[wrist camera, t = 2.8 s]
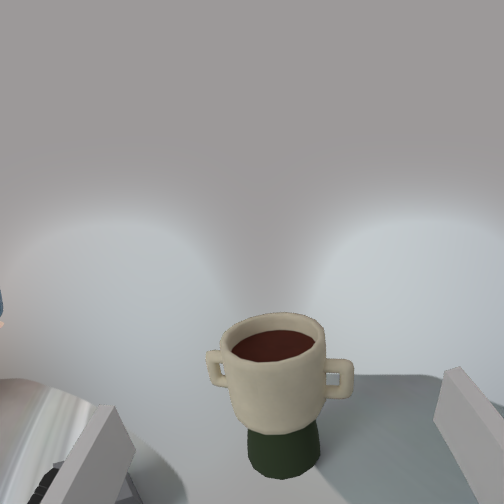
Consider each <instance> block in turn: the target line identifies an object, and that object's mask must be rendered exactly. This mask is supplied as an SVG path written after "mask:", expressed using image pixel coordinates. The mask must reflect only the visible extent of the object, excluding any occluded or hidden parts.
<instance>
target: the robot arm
mask: <svg viewBox="0 0 504 504" xmlns="http://www.w3.org/2000/svg"><path fill="white" fill-rule="evenodd" d="M2 312H3V302H2V296H1V290H0V316H1V315H2ZM433 421H434V423H435V424H436V426H437V428H438V429H439V431H440V433H441V435H442V436H443V438H444V440H445V442H446V443H447V445H448V447H449V449H450V450H451V452H452V454H453V456H454V458H455V459H456V461H457V463H458V465H459V467H460V469H461V470H462V472H463V474H464V476H465V478H466V480H467V482H468V484H469V485H470V487H471V489H472V491H473V493H474V495H475V497H476V499H477V501H478V503H479V504H504V419H503V417H502V416H501V415H500V414H499V412H498V411H497V410H496V409H495V407H494V406H493V405H492V404H491V403H490V401H489V400H488V399H487V398H486V397H485V395H484V394H483V393H482V392H481V391H480V389H479V388H478V387H477V386H476V384H475V383H474V382H473V381H472V380H471V379H470V377H469V376H468V375H467V374H466V373H465V372H464V370H463V369H462V368H461V367H456V368H453V369H450V370H446V371H445V372H444V376H443V381H442V386H441V390H440V394H439V398H438V403H437V406H436V410H435V414H434V418H433ZM135 452H136V449H135V447H134V445H133V443H132V441H131V439H130V437H129V435H128V433H127V431H126V429H125V427H124V425H123V423H122V421H121V419H120V416H119V414H118V412H117V410H116V408H115V406H111V405H99V406H98V407H97V409H96V410H95V412H94V414H93V415H92V417H91V418H90V420H89V422H88V423H87V425H86V427H85V428H84V430H83V431H82V433H81V435H80V436H79V438H78V440H77V441H76V443H75V445H74V446H73V448H72V450H71V451H70V453H69V455H68V456H67V458H66V460H65V461H64V463H63V465H62V466H61V468H60V469H57V468H52V469H51V470H50V471H49V472H48V473H46V474H45V475H44V477H43V478H42V480H41V482H40V483H39V487H37V488H36V490H35V492H34V493H35V494H33V495H32V497H31V498H30V500H29V502H28V503H27V504H115V501H116V499H117V496H118V494H119V491H120V489H121V486H122V484H123V481H124V479H125V476H126V474H127V471H128V469H129V466H130V464H131V462H132V459H133V457H134V454H135Z"/></svg>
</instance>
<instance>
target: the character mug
mask: <svg viewBox="0 0 504 504" xmlns="http://www.w3.org/2000/svg"><path fill="white" fill-rule="evenodd" d="M219 363H222V364H223V366H224V371H225V375H222V374H221V370H220V365H219ZM206 364H207V369H208V372H209V377H210V380H211V382H212V384H213V385H215V386H218V387H225V388H228V389H229V394H230V399H231V403H232V406H233V409H234V412H235V415H236V417H237V418H238V420H239V421H240V422H241V423H242V424H243V425H245V426H246V427H247V428H248V440H247V443H248V444H247V445H248V458H249V460H250V462H251V464H252V466H253V468H254V469H255V470H257V471H258V472H259V473H261V474H262V475H264V476H265V477H268V478H275V479H280V480H284V479H288V478H293V477H296V476H300V475H301V474H303V473H304V472H306V471H307V470H309V469H310V468H312V467H313V466H314V464H315V463H316V461H317V460H318V458H319V456H320V442H319V434H318V429H317V424H316V420H315V419H316V418H317V417H318V415H319V413H320V411H321V409H322V407H323V405H324V403H325V402H326V398H327V399H346V398H349V397H350V396H351V394H352V392H353V383H354V366H353V363H352V362H351V361H349V360H346V359H327V358H326V343H325V333H324V328H323V327H322V326H321V325H320V324H319V323H318V322H317V321H316V320H314V319H312V318H310V317H308V316H305V315H301V314H296V313H287V312H281V313H269V314H263V315H259V316H255V317H250V318H248V319H246V320H243V321H241V322H238V323H236V324H234V325H233V326H232V327H231V328H229V329H228V330H227V331H225V332H224V334H223V336H222V338H221V340H220V350H212V351H207V352H206ZM326 373H340V386H336V385H326Z"/></svg>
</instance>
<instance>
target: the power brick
mask: <svg viewBox="0 0 504 504" xmlns="http://www.w3.org/2000/svg"><path fill="white" fill-rule="evenodd" d="M63 463H64V461H62V462H58V463H54V464H53V467H54V468H57V469H60V468H61V466H62V465H63ZM115 504H143V503H142V501H141V499H140V497H139V495H138V493H137V491H136V488H135V486H134V484H133V482H132V480H131V477H130V475H129V473H128V472H127V474H126V476H125V479H124V481H123V484H122V486H121V489H120V491H119V494H118V496H117V499H116V501H115Z"/></svg>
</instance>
